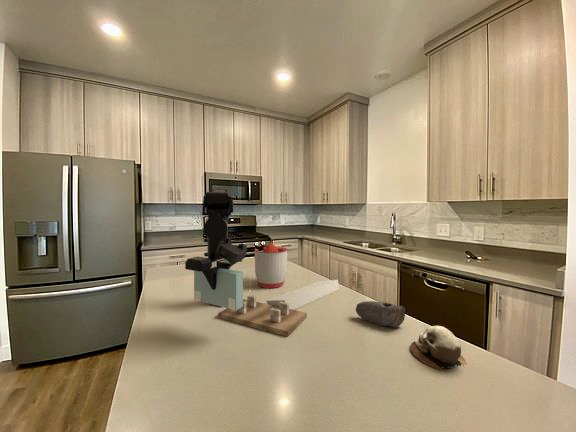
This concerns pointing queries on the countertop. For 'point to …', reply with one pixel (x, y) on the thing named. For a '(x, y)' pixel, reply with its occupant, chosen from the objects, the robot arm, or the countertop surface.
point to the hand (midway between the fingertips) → (217, 287)
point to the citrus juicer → (271, 266)
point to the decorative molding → (306, 294)
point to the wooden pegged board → (265, 316)
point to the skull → (438, 348)
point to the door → (220, 289)
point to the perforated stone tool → (381, 313)
